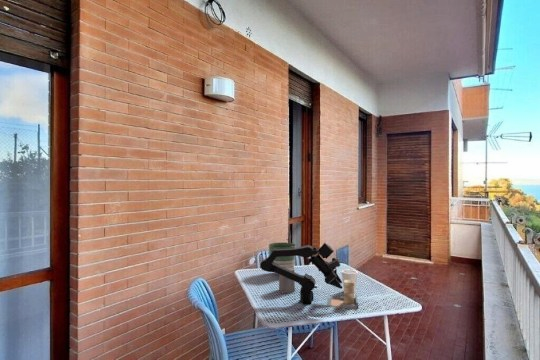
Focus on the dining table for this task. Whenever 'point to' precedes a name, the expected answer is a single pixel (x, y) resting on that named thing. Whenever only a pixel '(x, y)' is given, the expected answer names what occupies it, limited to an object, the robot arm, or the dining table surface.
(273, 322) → the dining table surface
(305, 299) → the robot arm
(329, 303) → the tray
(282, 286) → the pillar candle
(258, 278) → the dining table surface
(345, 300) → the beech block
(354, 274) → the foam cup
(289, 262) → the planter
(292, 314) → the dining table surface
